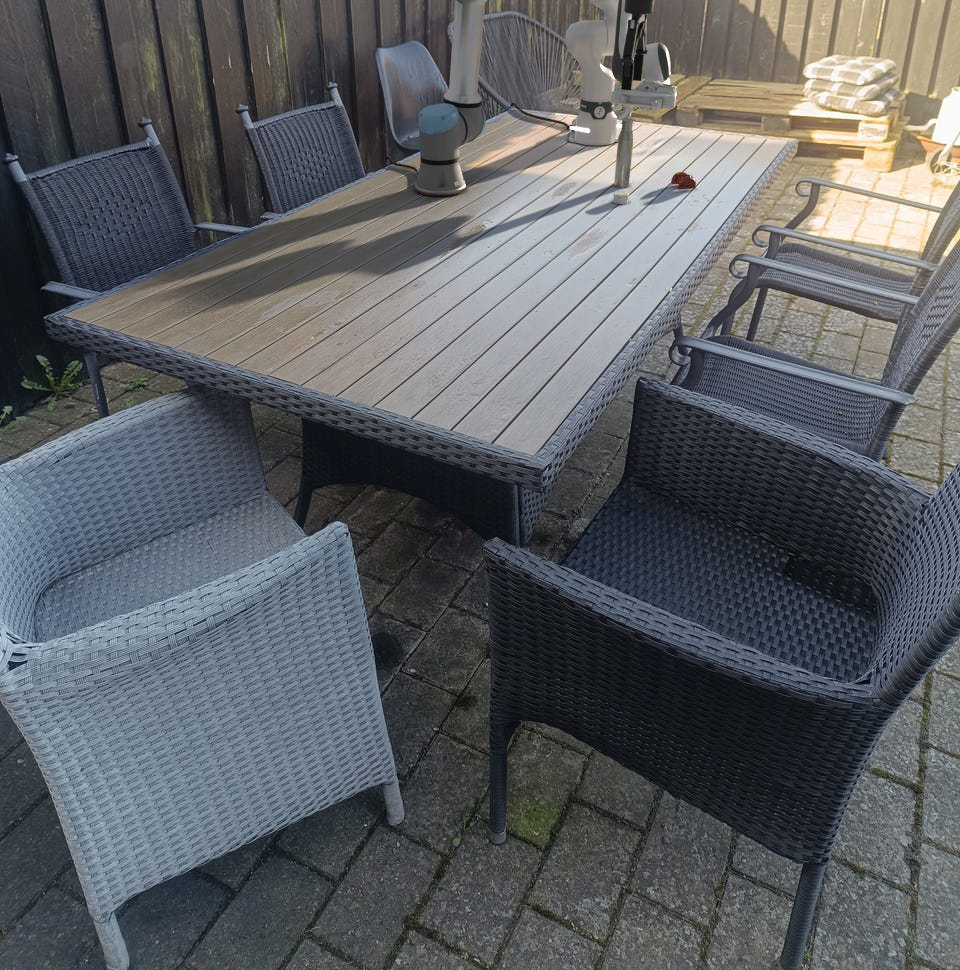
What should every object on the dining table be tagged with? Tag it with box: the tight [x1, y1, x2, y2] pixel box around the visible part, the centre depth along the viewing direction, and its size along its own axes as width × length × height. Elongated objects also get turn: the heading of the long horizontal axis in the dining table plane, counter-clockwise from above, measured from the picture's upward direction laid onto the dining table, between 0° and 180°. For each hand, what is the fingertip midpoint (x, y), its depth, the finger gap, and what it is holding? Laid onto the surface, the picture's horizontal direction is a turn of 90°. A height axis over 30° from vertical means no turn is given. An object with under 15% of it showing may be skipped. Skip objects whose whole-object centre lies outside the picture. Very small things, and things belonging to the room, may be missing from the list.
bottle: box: [613, 117, 634, 189], centre depth 257 cm, size 5×5×19 cm
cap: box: [612, 190, 630, 205], centre depth 248 cm, size 4×4×3 cm
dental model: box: [670, 171, 697, 190], centre depth 260 cm, size 6×4×8 cm
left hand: (631, 85), depth 230 cm, fingers open, 13 cm apart
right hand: (638, 103), depth 258 cm, fingers open, 8 cm apart
